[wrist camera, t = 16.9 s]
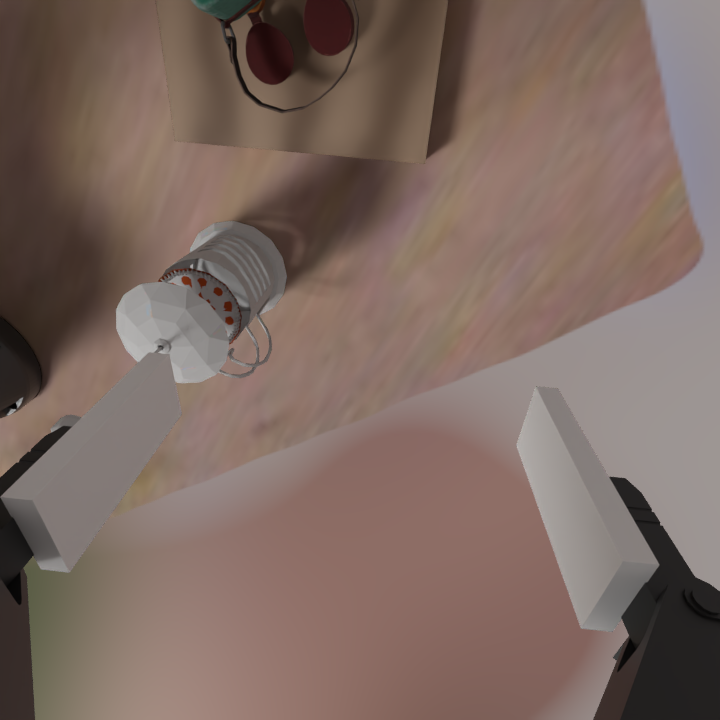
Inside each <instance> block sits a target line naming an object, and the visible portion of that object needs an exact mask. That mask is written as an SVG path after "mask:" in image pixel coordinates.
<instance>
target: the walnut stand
mask: <svg viewBox="0 0 720 720" xmlns="http://www.w3.org/2000/svg"><path fill="white" fill-rule="evenodd" d="M306 1H307V0H266V1H265V5H264V7H263V10H262V11H261V12H260V13H259V14H260V16H261V19H262V21H263V22H265V23H269V24H271V25H273V26H275V27H277V28H278V29H279V30H280V31H281V32H282V33H283V34H284V35H285V36H286V37H287V39H288V40H289V42H290V44H291V46H292V49H293V52H294V66H293V69H292V72H291V73H290V75H289V77H288V78H287V79H286V80H285V81H283V82H282V83H280V84H277V85H269V84H265V83H263V82H261V81H260V80H259V79H257V78H256V77H255V76H254V74H253V73H252V71H251V70H250V68H249V65H248V63H247V58H246V38H247V35H248V32H249V30H250V28H251V27H252V26H253V25H252V22H251V20H250V18H249V17H248V15H247V14H245V15H244V16H243V17H241V18H240V19H238V20H236V21H234V22H232V23H231V26H232V29H233V31H234V34H235V37H236V40H237V58H238V62H239V66H240V71H241V75H242V77H243V79H244V81H245V83H246V86H247V88H248V90H249V92H250V93H252V94H253V95H254V96H255V97H256V98H258V99H259V100H260V101H261V102H262V103H265V104H268V105H271V106H274V107H277V108H281V109H284V110H287V109H292V108H297V107H302V106H306V105H307V104H309V103H311V102H312V101H314V100H316V99H317V98H319V97H320V96H321V95H322V94H323V93H325V92H326V91H327V90H328V89H329V88H331V87H332V85H333V84H334V83H335V81H336V80H337V79H338V78H339V76H340V75H341V74H342V73H343V71H344V70H345V67H346V65H347V62H348V60H349V57H350V55H351V52H352V50H353V47H354V44H355V30H356V15H355V11H354V7H353V4H352V0H345V1H346V2H347V3H348V5H349V7H350V9H351V11H352V13H353V18H354V34H353V37H352V40H351V42H350V43H349V45H348V46H347V47H346V48H345V49H344V50H343V51H342V52H340V53H339V54H337V55H334V56H325V55H321V54H320V53H318V52H317V51H315V50H314V49H313V48H312V46H311V45H310V44H309V42H308V40H307V38H306V34H305V30H304V9H305V5H306ZM354 1H355V5H356V9H357V13H358V16H359V27H358V40H357V47H356V50H355V52H354V55H353V57H352V60H351V62H350V65H349V67H348V70H347V72H346V73H345V74H344V75H343V77H342V78H341V79H340V80H339V82H338V83H337V84H336V85H335V87H334V88H333V89H332V90H330V91H329V92H328V93H327V94H326V95H324V96H323V97H322V98H321V99H319V100H318V101H316V102H314V103H313V104H311V105H309V106H308V107H306V108H304V109H302V110H297V111H292V112H287V113H279V112H276V111H273V110H270V109H267V108H264V107H261V106H258V105H257V104H256V103H255V102H253V101H252V100H251V99H250V98H249V97H247V96H246V95H245V94H244V92H243V90H242V88H241V86H240V84H239V82H238V80H237V78H236V75H235V71H234V67H233V64H232V63H231V62H230V57H229V51H228V48H227V45H226V43H225V41H224V38H223V34H222V30H221V24H220V22H219V21H218V20H217V19H216V18H215V17H214V16H212V15H210V14H208V13H205V12H203V11H201V10H200V9H198V8H197V7H196V6H195V5H194V4H193V2H192V1H191V0H156V7H157V14H158V22H159V29H160V36H161V44H162V51H163V58H164V65H165V73H166V80H167V87H168V95H169V102H170V109H171V116H172V124H173V131H174V138H175V141H180V142H191V143H202V144H212V145H223V146H234V147H245V148H256V149H267V150H278V151H288V152H299V153H310V154H321V155H332V156H343V157H354V158H365V159H375V160H386V161H397V162H408V163H419V164H425V161H426V154H427V147H428V140H429V133H430V126H431V119H432V112H433V105H434V98H435V91H436V84H437V77H438V69H439V62H440V55H441V48H442V41H443V34H444V27H445V20H446V13H447V6H448V0H359V1H358V0H354ZM224 21H225V20H224ZM225 31H226V36H231V33H230V30H229V28H228V29H225Z"/></svg>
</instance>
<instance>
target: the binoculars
mask: <svg viewBox="0 0 720 720" xmlns="http://www.w3.org/2000/svg"><path fill="white" fill-rule="evenodd" d="M191 1H192V2H193V4H194V5H195V6H196V7H197V8H198V9H200V10H201V11H203V12H205V13H208V14H210V15H212V16H214V17H215V18H216V19H217V20H218V21H219V22H220V24H221V30H222V34H223V38H224V41H225V43H226V45H227V48H228V51H229V57H230V62H231V63H232V64H233V67H234V71H235V75H236V78H237V80H238V82H239V84H240V86H241V88H242V90H243V92H244V94H245V95H246V96H247V97H249V98H250V99H251V100H252V101H253V102H255V103H256V104H257V105H258V106H261V107H264V108H267V109H270V110H273V111H276V112H279V113H287V112H292V111H297V110H302V109H304V108H306V107H308V106H309V105H311V104H313V103H314V102H316V101H318V100H319V99H321V98H322V97H323V96H324V95H326V94H327V93H328V92H329V91H330V90H332V89H333V88H334V87H335V85H336V84H337V83H338V82H339V80H340V79H341V78H342V77H343V75H344V74H345V73H346V72H347V70H348V67H349V65H350V62H351V60H352V57H353V55H354V52H355V50H356V47H357V40H358V27H359V16H358V13H357V9H356V5H355V1H354V0H352V4H353V7H354V11H355V15H356V30H355V44H354V47H353V50H352V52H351V55H350V57H349V60H348V62H347V65H346V67H345V70H344V71H343V73H342V74H341V75H340V76H339V78H338V79H337V80H336V81H335V83H334V84H333V85H332V87H331V88H329V89H328V90H327V91H326V92H325V93H323V94H322V95H321V96H320V97H319V98H317V99H316V100H314V101H312V102H311V103H309V104H307V105H306V106H302V107H297V108H292V109H287V110H284V109H281V108H277V107H274V106H271V105H268V104H265V103H262V102H261V101H260V100H259V99H258V98H256V97H255V96H254V95H253V94H252V93H250V92H249V90H248V88H247V86H246V83H245V81H244V79H243V77H242V75H241V71H240V66H239V62H238V58H237V40H236V37H235V34H234V31H233V29H232V26H231V23H232V22H234V21H236V20H238V19H240V18H241V17H243V16H244V15H245V14H247V15H248V17H249V18H250V20H251V22H252V25H253V26H252V27H251V28H250V30H249V32H248V35H247V38H246V58H247V63H248V65H249V68H250V70H251V71H252V73H253V74H254V76H255V77H256V78H257V79H259V80H260V81H261V82H263V83H265V84H269V85H277V84H280V83H282V82H283V81H285V80H286V79H287V78H288V77H289V75H290V73H291V72H292V69H293V66H294V52H293V49H292V46H291V44H290V42H289V40H288V39H287V37H286V36H285V35H284V34H283V33H282V32H281V31H280V30H279V29H278V28H277V27H275V26H273V25H271V24H269V23H265V22H263V21H262V19H261V16H260V14H259V13H260V12H261V11H262V10H263V7H264V5H265V1H266V0H191ZM358 1H359V0H358ZM224 20H225V21H224ZM228 28H229V30H230V33H231V36H226V31H225V29H228ZM304 30H305V34H306V38H307V40H308V42H309V44H310V45H311V46H312V48H313V49H314V50H315V51H317V52H318V53H320V54H321V55H325V56H334V55H337V54H339V53H340V52H342V51H343V50H344V49H345V48H346V47H347V46H348V45H349V43H350V42H351V40H352V37H353V34H354V18H353V13H352V11H351V9H350V7H349V5H348V3H347V2H346V1H345V0H307V1H306V5H305V9H304Z"/></svg>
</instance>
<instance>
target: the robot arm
mask: <svg viewBox="0 0 720 720" xmlns="http://www.w3.org/2000/svg"><path fill="white" fill-rule="evenodd" d="M40 386H41V371H40V367H39V364H38V361H37V359H36V357H35V355H34V353H33V351H32V350H31V348H30V347H29V345H28V344H27V343H26V341H25V340H24V339H23V338H22V337H21V335H20V334H19V333H18V332H17V331H16V330H15V329H14V328H13V327H11V326H10V325H9V324H8V323H7V322H6V321H4V320H3V319H2V318H0V418H3V417H5V416H8V415H10V414H13V413H15V412H16V411H18V410H20V409H21V408H22V407H24V406H25V405H26V404H27V403H29V402H30V401H31V400H32V399H34V398H35V396H36V395H37V394H38V392H39V390H40ZM181 415H182V412H181V407H180V403H179V398H178V393H177V388H176V383H175V379H174V374H173V369H172V364H171V359H170V355H169V354H163V353H151V352H149V353H148V354H146V355H145V356H144V357H143V358H142V359H141V360H140V361H139V362H138V363H137V364H136V365H135V366H134V367H133V368H132V369H131V370H130V371H129V372H128V373H127V374H126V375H125V376H124V377H123V378H122V379H121V380H120V381H119V382H118V383H117V384H116V385H115V386H114V387H113V388H112V389H111V390H109V391H108V392H107V393H106V394H105V395H104V396H103V397H102V398H101V399H100V400H99V401H98V402H97V403H96V404H95V405H94V406H93V407H92V408H91V409H90V410H89V411H88V412H87V413H86V414H85V415H84V416H83V417H82V418H81V419H80V420H79V421H78V422H77V423H76V424H75V425H74V426H62V427H60V428H59V429H57V430H55V431H53V432H52V433H50V434H48V435H46V436H45V437H44V438H43V439H41V440H40V441H39V442H38V443H37V444H36V445H35V446H34V447H33V448H32V449H31V451H30V452H27V453H26V454H25V455H24V456H23V457H22V458H21V459H20V461H19V463H16V464H14V465H13V466H12V467H11V468H10V469H9V470H8V471H7V472H6V473H5V474H4V475H3V476H1V477H0V720H35V712H34V695H33V677H32V660H31V641H30V624H29V607H28V588H27V576H26V573H25V571H24V569H23V567H24V566H25V565H26V564H27V563H28V561H29V560H30V559H31V558H32V556H34V558H35V559H36V561H37V563H38V565H39V567H40V568H41V569H42V570H51V571H60V572H70V571H71V570H72V568H73V567H74V565H75V564H76V563H77V561H78V560H79V558H80V557H81V556H82V554H83V553H84V551H85V550H86V549H87V547H88V546H89V544H90V543H91V541H92V540H93V539H94V537H95V536H96V534H97V533H98V532H99V530H100V529H101V527H102V526H103V525H104V523H105V522H106V520H107V519H108V518H109V516H110V515H111V513H112V512H113V511H114V509H115V508H116V506H117V505H118V503H119V502H120V501H121V499H122V498H123V496H124V495H125V494H126V492H127V491H128V489H129V488H130V487H131V485H132V484H133V482H134V481H135V480H136V478H137V477H138V475H139V474H140V472H141V471H142V470H143V468H144V467H145V465H146V464H147V463H148V461H149V460H150V458H151V457H152V456H153V454H154V453H155V451H156V450H157V449H158V447H159V446H160V444H161V443H162V441H163V440H164V439H165V437H166V436H167V434H168V433H169V432H170V430H171V429H172V427H173V426H174V425H175V423H176V422H177V420H178V419H179V418H180V416H181ZM516 446H517V449H518V451H519V454H520V457H521V460H522V463H523V466H524V468H525V471H526V474H527V477H528V480H529V483H530V485H531V488H532V491H533V494H534V496H535V500H536V502H537V505H538V508H539V511H540V514H541V516H542V519H543V522H544V525H545V528H546V530H547V533H548V536H549V539H550V542H551V544H552V548H553V550H554V553H555V556H556V559H557V562H558V565H559V567H560V570H561V573H562V576H563V579H564V582H565V584H566V587H567V590H568V593H569V596H570V598H571V601H572V604H573V607H574V610H575V613H576V615H577V618H578V621H579V624H580V627H581V629H590V630H600V631H608V632H613V630H614V629H615V628H616V626H617V625H618V623H619V622H620V621H621V619H622V620H623V622H624V625H625V627H626V629H627V631H628V634H629V637H628V638H627V639H626V641H625V642H624V643H623V645H622V646H621V647H620V649H619V650H618V652H617V653H616V654H615V656H614V657H613V658H614V659H615V660H617V662H616V664H615V667H614V670H613V672H612V674H611V677H610V680H609V682H608V684H607V687H606V689H605V692H604V694H603V697H602V699H601V702H600V704H599V707H598V709H597V712H596V714H595V717H594V719H593V720H720V591H718V590H717V589H716V588H714V587H713V586H712V585H710V584H708V583H706V582H704V581H702V580H700V579H698V578H696V577H695V576H694V575H693V573H692V572H691V570H690V568H689V567H688V565H687V564H686V562H685V561H684V559H683V557H682V556H681V555H680V553H679V551H678V550H677V548H676V547H675V545H674V543H673V542H672V540H671V539H670V537H669V535H668V534H667V532H666V531H665V529H664V528H663V526H660V521H659V520H658V518H657V517H656V515H655V513H654V512H652V511H651V510H652V509H651V507H650V506H649V504H648V502H647V501H646V500H645V498H644V496H643V495H642V493H641V492H640V491H639V490H638V489H637V488H635V487H634V486H633V485H632V484H631V483H630V482H629V481H628V480H627V479H625V478H617V477H609V476H608V474H607V473H606V471H605V469H604V467H603V466H602V464H601V462H600V461H599V459H598V457H597V455H596V454H595V452H594V450H593V448H592V447H591V445H590V443H589V441H588V440H587V438H586V436H585V434H584V433H583V431H582V429H581V427H580V426H579V424H578V422H577V421H576V419H575V417H574V416H573V414H572V412H571V410H570V408H569V407H568V405H567V403H566V401H565V400H564V398H563V396H562V394H561V393H560V391H559V389H558V388H549V387H537V386H536V388H535V390H534V394H533V396H532V400H531V403H530V406H529V409H528V412H527V415H526V418H525V421H524V424H523V427H522V430H521V433H520V436H519V439H518V442H517V445H516Z"/></svg>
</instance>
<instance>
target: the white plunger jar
mask: <svg viewBox="0 0 720 720" xmlns="http://www.w3.org/2000/svg"><path fill="white" fill-rule="evenodd" d="M286 279H287V274H286V270H285V266H284V261H283V257H282V256H281V254H280V253H279V251H278V250H277V248H276V247H275V245H274V243H273V242H272V240H271V239H269V238H268V237H267V236H265V235H264V234H263V233H261V232H260V231H259V230H257V229H256V228H255V227H253V226H250V225H246V224H243V223H239V222H236V221H227V222H219V223H213V224H212V225H210V226H209V227H207V228H206V229H204V230H203V231H201V232H200V233H199V234H198V235H197V237H196V239H195V241H194V243H193V244H192V246H191V248H190V253H189V254H187V255H186V256H184V257H183V258H181V259H180V260H178V261H177V262H175V263H174V264H173V265H172V266H170V267H169V268H168V269H166V271H165V273H164V274H163V276H162V277H161V278H160V279H159V281H158V282H153V283H142V284H140V285H138V286H136V287H135V288H133V289H132V290H130V291H129V292H127V293H125V294H124V296H123V297H122V299H121V301H120V303H119V305H118V307H117V309H116V326H117V331H118V333H119V336H120V338H121V340H122V342H123V344H124V347H125V349H126V350H127V351H128V352H129V353H130V354H131V355H132V356H133V358H134V359H135V360H136V361H137V362H139V361H140V360H141V359H142V358H143V357H144V356H145V355H146V354H148V353H149V352H151V353H163V354H169V355H170V359H171V364H172V369H173V374H174V379H175V382H178V383H195V382H202V381H204V380H206V379H208V378H210V377H212V376H214V375H216V374H217V373H218V372H219V373H221V374H224V375H226V376H229V377H232V378H243V377H246V376H249V375H250V374H252V373H253V372H254V370H255V369H256V367H257V366H259V365H262V364H264V363H265V362H267V361H268V358H269V356H270V354H271V351H272V343H271V337H270V334H269V331H268V329H267V327H266V326H265V324H264V322H263V321H262V319H261V318H260V315H261V314H263V313H265V312H266V311H268V310H270V309H272V308H274V307H275V305H276V304H277V303H278V301H279V300H280V298H281V297H282V296H283V294H284V290H285V284H286ZM255 316H257V318H258V320H259V321H260V323H261V325H262V327H263V328H264V330H265V332H266V334H267V336H268V339H269V350H268V354H267V355H266V357H265V359H264V360H263V361H261V362H259V347H258V344H257V341H256V339H255V337H254V336H253V334H252V332H251V331H250V329H249V327H248V325H249V324H250V322H251V321H252V320H253V318H254V317H255ZM245 327H246V329H247V331H248V333H249V334H250V336H251V338H252V340H253V342H254V344H255V346H256V351H257V357H256V363H255V364H245V363H242V362H240V361H238V360H236V359H234V358H233V356H232V354H233V352H234V349H233V348H231V349H230V350H229V351H228V347H229V344H231V343H232V342H233V341H234V340H235V339H237V337H238V336H239V335H240V333H241V332H242V331H243V329H244V328H245ZM228 355H229V357H230V360H231V361H233V362H235V363H237V364H239V365H242V366H244V367H253V368H252V370H250V371H249V372H247V373H244V374H241V375H234V374H228V373H226V372H224V371H222V370H220V369H221V367H222V366H223V365H224V363H225V362H226V360H227V356H228ZM80 419H81V417H79V416H75V415H66V416H64V417H62V418H60V420H59V421H58V422H57V423H56V424H55V425H54V426H53V427H52V428H51V433H52V432H53V431H55V430H57V429H59V428H60V427H62V426H74V425H75V424H76V423H77V422H78V421H79V420H80Z"/></svg>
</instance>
